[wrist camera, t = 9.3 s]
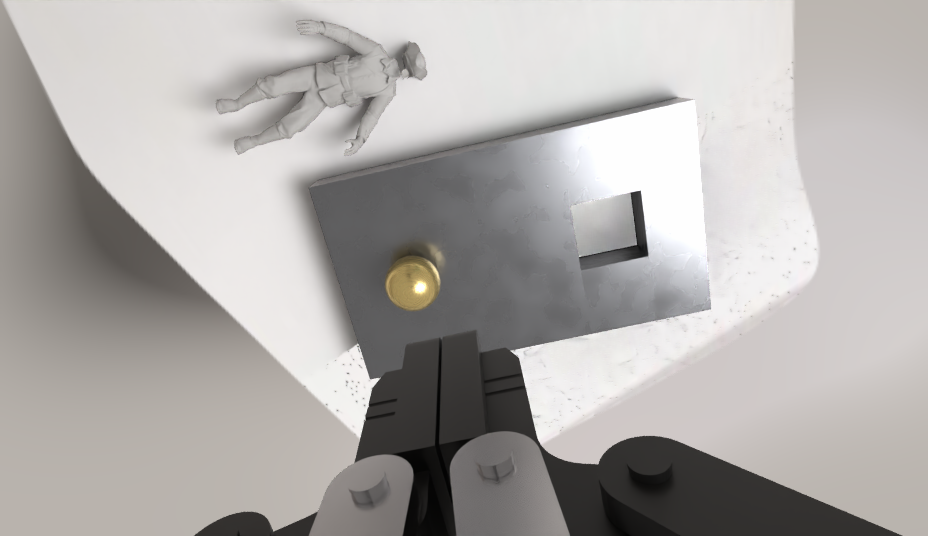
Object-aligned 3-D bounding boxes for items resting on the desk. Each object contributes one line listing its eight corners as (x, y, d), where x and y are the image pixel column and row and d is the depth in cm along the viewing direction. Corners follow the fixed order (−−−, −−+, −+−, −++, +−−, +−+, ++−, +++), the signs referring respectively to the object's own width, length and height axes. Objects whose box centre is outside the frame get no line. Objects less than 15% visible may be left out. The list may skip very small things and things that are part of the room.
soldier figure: (185, 51, 30) (396, -6, 28) (223, 37, 34) (409, -13, 33) (246, 182, 34) (435, 140, 32) (274, 156, 38) (443, 117, 36)
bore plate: (317, 179, 37) (308, 187, 35) (678, 97, 36) (694, 99, 33) (374, 361, 42) (370, 379, 39) (696, 294, 40) (711, 309, 38)
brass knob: (381, 254, 36) (374, 273, 33) (434, 243, 36) (432, 261, 33) (395, 303, 37) (390, 325, 34) (446, 292, 37) (445, 314, 34)
